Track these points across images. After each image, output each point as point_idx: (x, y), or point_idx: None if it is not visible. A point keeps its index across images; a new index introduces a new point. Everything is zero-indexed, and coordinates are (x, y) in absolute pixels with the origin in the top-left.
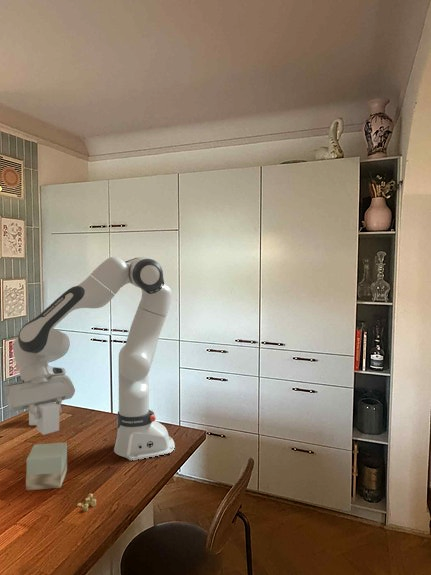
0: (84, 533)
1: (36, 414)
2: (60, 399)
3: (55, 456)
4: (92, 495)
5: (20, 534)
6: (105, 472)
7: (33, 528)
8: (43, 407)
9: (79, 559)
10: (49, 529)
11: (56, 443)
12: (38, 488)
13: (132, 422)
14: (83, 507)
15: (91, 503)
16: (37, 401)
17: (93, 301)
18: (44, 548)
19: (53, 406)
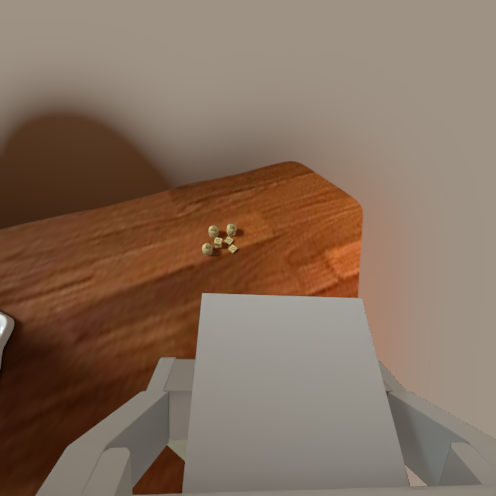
0: (260, 193)
1: (386, 370)
2: (73, 470)
3: None
4: (205, 243)
5: (337, 248)
6: (110, 320)
7: (317, 248)
8: (351, 350)
9: (285, 166)
10: (297, 230)
11: (185, 452)
12: None
13: None
14: (236, 228)
15: (218, 230)
16: (462, 486)
17: None
18: (314, 203)
19: (259, 305)
